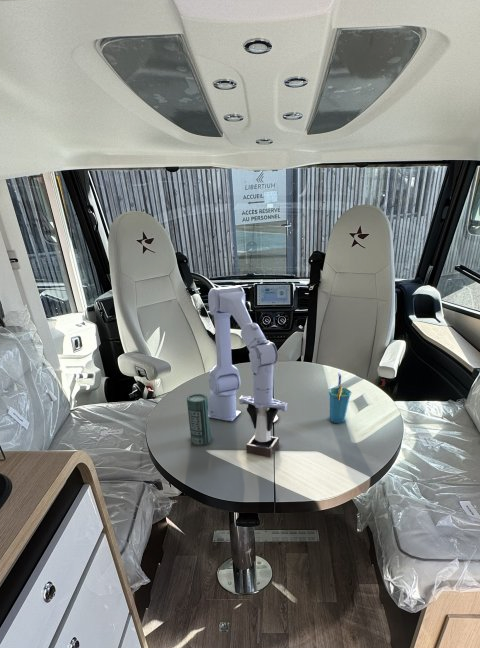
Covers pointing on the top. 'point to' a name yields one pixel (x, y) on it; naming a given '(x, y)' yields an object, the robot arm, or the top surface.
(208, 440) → the can
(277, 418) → the coaster
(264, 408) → the salt shaker
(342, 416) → the cup
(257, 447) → the box
